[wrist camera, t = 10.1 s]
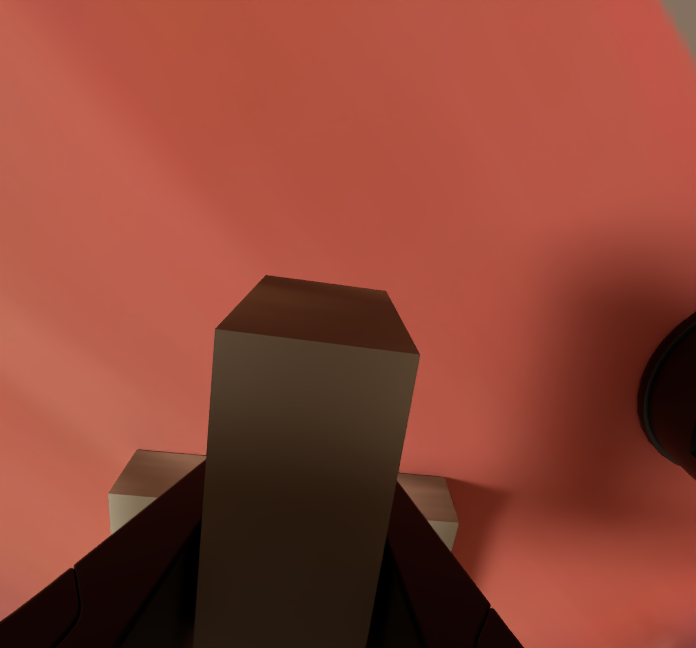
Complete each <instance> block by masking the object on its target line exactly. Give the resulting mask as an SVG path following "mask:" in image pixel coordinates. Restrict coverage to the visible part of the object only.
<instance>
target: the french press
mask: <svg viewBox="0 0 696 648" xmlns="http://www.w3.org/2000/svg"><path fill="white" fill-rule="evenodd" d="M638 416H639V420H640V424H641V428H642V430H643V432H644V433H645V435H646V437H647V439H648V441H649V442H650V443H651V444H652V445H653V446H654V447H655V449H656V450H657V451H658V452H659V453H660V454H661V455H662V456H664V457H665V458H667V459H668V460H670V461H672V462H673V463H675V464H677V465H679V466H681V467H682V468H683V469H684V470H685V471H686V472H687V473H688V474H689V475H690V476H692V477H693V478H694V479H695V480H696V445H695V441H696V312H695V313H694V314H692V315H691V316H690V317H689V318H687V319H686V320H685V321H683V322H682V323H681V324H679V325H678V326H677V327H676V328H675V329H674V330H673V331H672V332H671V333H670V334H669V335H668V336H667V337H666V339H665V340H664V341H663V342H662V343H661V344H660V346H659V347H658V349H657V350H656V352H655V353H654V355H653V356H652V357H651V359H650V361H649V363H648V365H647V367H646V370H645V372H644V374H643V376H642V379H641V383H640V387H639V392H638Z"/></svg>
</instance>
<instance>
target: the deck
mask: <svg viewBox="0 0 696 648" xmlns="http://www.w3.org/2000/svg"><path fill="white" fill-rule="evenodd" d="M205 459H206V456H201V455H189V454H178V453H167V452H156V451H145V450H136V452H135V453H134V455H133V456H132V458H131V459H130V461H129V462H128V464H127V465H126V467H125V469H124V470H123V472H122V473H121V475H120V476H119V478H118V479H117V481H116V482H115V484H114V485H113V487H112V488H111V490H110V492H109V493H108V498H109V512H110V527H111V535H112V534H113V533H114V532H116V531H117V530H118V529H119V528H121V527H122V526H123V525H124V524H125V523H127V522H128V521H129V520H130V519H132V518H133V517H134V516H135V515H137V514H138V513H139V512H140V511H142V510H143V509H144V508H145V507H147V506H148V505H149V504H150V503H152V502H153V501H154V500H155V499H157V498H158V497H159V496H160V495H162V494H163V493H164V492H165V491H167V490H168V489H169V488H170V487H171V486H173V485H174V484H175V483H176V482H178V481H179V480H180V479H181V478H183V477H184V476H185V475H186V474H188V473H189V472H190V471H191V470H193V469H194V468H195V467H196V466H198V465H199V464H200V463H201V462H203V461H204V460H205ZM397 481H398V482H399V483H400V485H401V486H402V487H403V489H404V490H405V491H406V493H407V494H408V495H409V497H410V498H411V499H412V501H413V502H414V503H415V505H416V506H417V507H418V509H419V510H420V511H421V513H422V514H423V515H424V517H425V518H426V519H427V521H428V522H429V523H430V525H431V526H432V527H433V529H434V530H435V531H436V533H437V534H438V535H439V537H440V538H441V539H442V541H443V542H444V543H445V545H446V546H447V547H448V549H449V550H450V551H451V552H452V548H453V544H454V540H455V537H456V533H457V529H458V525H459V521H458V518H457V514H456V511H455V508H454V505H453V502H452V499H451V496H450V493H449V489H448V486H447V483H446V480H445V477H435V476H424V475H413V474H402V473H398V476H397Z"/></svg>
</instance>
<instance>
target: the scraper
mask: <svg viewBox="0 0 696 648" xmlns="http://www.w3.org/2000/svg"><path fill="white" fill-rule="evenodd" d="M419 358H420V354H419V352H418V350H417V348H416V346H415V344H414V342H413V340H412V339H411V337H410V335H409V333H408V331H407V329H406V327H405V326H404V324H403V322H402V320H401V318H400V316H399V314H398V312H397V311H396V309H395V307H394V305H393V303H392V301H391V299H390V298H389V296H388V294H387V292H386V291H382V290H374V289H367V288H359V287H352V286H344V285H337V284H329V283H322V282H314V281H306V280H299V279H291V278H284V277H276V276H269V275H266V276H265V277H264V278H263V279H262V280H261V281H260V282H259V283H258V284H257V285H256V286H255V287H254V288H253V289H252V290H251V292H250V293H249V294H248V295H247V296H246V297H245V298H244V299H243V300H242V301H241V302H240V303H239V304H238V305H237V306H236V307H235V308H234V310H233V311H232V312H231V313H230V314H229V315H228V316H227V317H226V318H225V319H224V320H223V321H222V322H221V323H220V324H219V325H218V327H217V328H216V329H215V339H214V353H213V367H212V382H211V396H210V411H209V425H208V440H207V454H206V468H205V483H204V497H203V512H202V526H201V540H200V555H199V569H198V584H197V598H196V613H195V627H194V641H193V648H366V643H367V638H368V632H369V627H370V622H371V616H372V611H373V606H374V600H375V595H376V589H377V584H378V579H379V573H380V568H381V562H382V557H383V552H384V546H385V541H386V536H387V530H388V525H389V519H390V514H391V509H392V503H393V498H394V492H395V487H396V482H397V476H398V471H399V466H400V460H401V455H402V449H403V444H404V439H405V433H406V428H407V422H408V417H409V412H410V406H411V401H412V396H413V390H414V385H415V379H416V374H417V369H418V363H419Z"/></svg>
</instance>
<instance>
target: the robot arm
mask: <svg viewBox="0 0 696 648" xmlns="http://www.w3.org/2000/svg"><path fill="white" fill-rule="evenodd" d="M205 468H206V459H205V460H204V461H203V462H201V463H200V464H199V465H198V466H196V467H195V468H194V469H193V470H191V471H190V472H189V473H188V474H186V475H185V476H184V477H183V478H181V479H180V480H179V481H178V482H176V483H175V484H174V485H173V486H171V487H170V488H169V489H168V490H167V491H165V492H164V493H163V494H162V495H160V496H159V497H158V498H157V499H155V500H154V501H153V502H152V503H150V504H149V505H148V506H147V507H145V508H144V509H143V510H142V511H140V512H139V513H138V514H137V515H135V516H134V517H133V518H132V519H130V520H129V521H128V522H127V523H125V524H124V525H123V526H122V527H121V528H119V529H118V530H117V531H116V532H114V533H113V534H112V535H111V536H109V537H108V538H107V539H106V540H104V541H103V542H102V543H101V544H99V545H98V546H97V547H96V548H94V549H93V550H92V551H91V552H89V553H88V554H87V555H86V556H84V557H83V558H82V559H81V560H79V561H78V562H77V563H76V564H75V565H74V569H73V568H69V569H68V570H67V571H65V572H64V573H63V574H62V575H61V576H59V577H58V578H57V579H56V580H54V581H53V582H52V583H51V584H49V585H48V586H47V587H45V588H44V589H43V590H42V591H40V592H39V593H38V594H36V595H35V596H34V597H32V598H31V599H30V600H29V601H27V602H26V603H25V604H23V605H22V606H21V607H19V608H18V609H17V610H16V611H14V612H13V613H11V614H10V615H9V616H7V617H6V618H4V619H3V620H2V621H0V648H193V641H194V627H195V613H196V598H197V584H198V569H199V555H200V540H201V526H202V512H203V497H204V483H205ZM490 607H491V605H490V603H489V602H488V600H487V599H486V598H485V596H484V595H483V594H482V592H481V591H480V590H479V588H478V587H477V586H476V584H475V583H474V582H473V580H472V579H471V578H470V576H469V575H468V574H467V572H466V571H465V570H464V569H463V567H462V566H461V565H460V563H459V562H458V561H457V559H456V558H455V557H454V555H453V554H452V553H451V551H450V550H449V549H448V547H447V546H446V545H445V543H444V542H443V541H442V539H441V538H440V537H439V535H438V534H437V533H436V531H435V530H434V529H433V527H432V526H431V525H430V523H429V522H428V521H427V519H426V518H425V517H424V515H423V514H422V513H421V511H420V510H419V509H418V507H417V506H416V505H415V503H414V502H413V501H412V499H411V498H410V497H409V495H408V494H407V493H406V491H405V490H404V489H403V487H402V486H401V485H400V483H399V482H398V481H397V482H396V487H395V492H394V498H393V503H392V509H391V514H390V519H389V525H388V530H387V536H386V541H385V546H384V552H383V557H382V562H381V568H380V573H379V579H378V584H377V589H376V595H375V600H374V606H373V611H372V616H371V622H370V627H369V632H368V638H367V643H366V648H524V647H523V646H522V645H521V643H520V642H519V641H518V639H517V638H516V637H515V636H514V634H513V633H512V632H511V631H510V629H509V628H508V627H507V625H506V624H505V623H504V621H503V620H502V619H501V617H500V616H499V615H498V613H497V612H496V611H495V609H493V608H490Z"/></svg>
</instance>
